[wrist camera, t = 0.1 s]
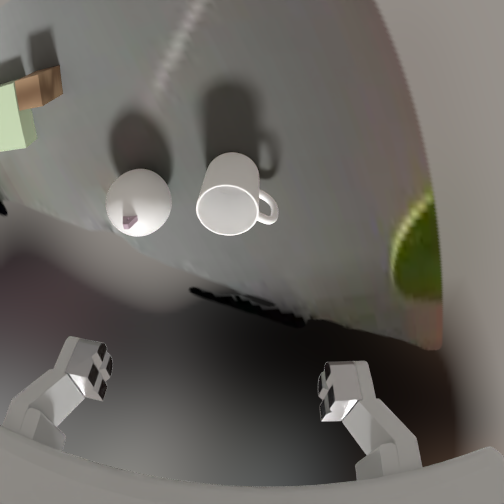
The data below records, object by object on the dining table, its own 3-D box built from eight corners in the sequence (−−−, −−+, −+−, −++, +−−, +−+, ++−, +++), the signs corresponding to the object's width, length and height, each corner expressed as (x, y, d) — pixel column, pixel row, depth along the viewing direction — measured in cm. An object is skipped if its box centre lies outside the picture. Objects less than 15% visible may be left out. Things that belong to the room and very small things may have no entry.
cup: (219, 142, 45) (210, 174, 38) (289, 174, 48) (295, 212, 41) (199, 184, 50) (187, 222, 43) (264, 211, 54) (264, 252, 46)
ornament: (157, 148, 46) (131, 189, 37) (187, 198, 52) (172, 246, 43) (109, 173, 48) (79, 215, 40) (140, 217, 55) (119, 263, 46)
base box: (-15, 89, 35) (-29, 97, 32) (27, 76, 35) (13, 82, 32) (-3, 144, 43) (-15, 154, 40) (38, 137, 43) (26, 147, 40)
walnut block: (36, 70, 34) (14, 81, 30) (59, 65, 35) (38, 74, 30) (40, 98, 38) (19, 110, 33) (63, 93, 38) (42, 106, 34)
